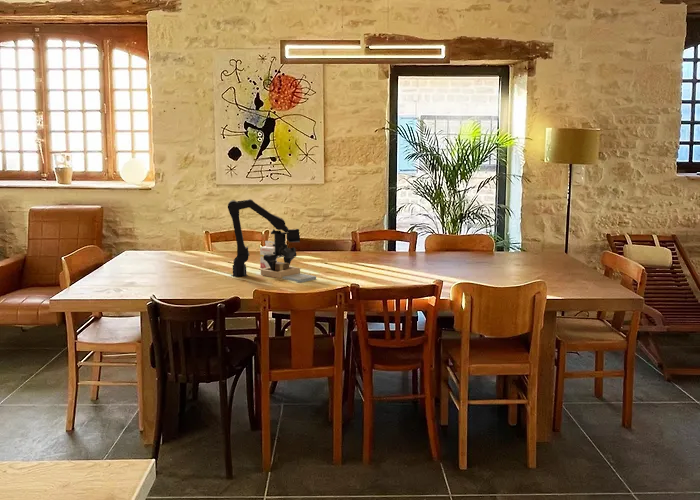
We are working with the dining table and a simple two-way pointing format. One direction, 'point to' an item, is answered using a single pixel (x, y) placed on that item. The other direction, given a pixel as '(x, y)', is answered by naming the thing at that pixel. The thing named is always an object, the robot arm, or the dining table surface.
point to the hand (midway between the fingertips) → (280, 271)
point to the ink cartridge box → (266, 250)
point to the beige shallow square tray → (280, 272)
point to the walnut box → (281, 266)
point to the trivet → (300, 277)
